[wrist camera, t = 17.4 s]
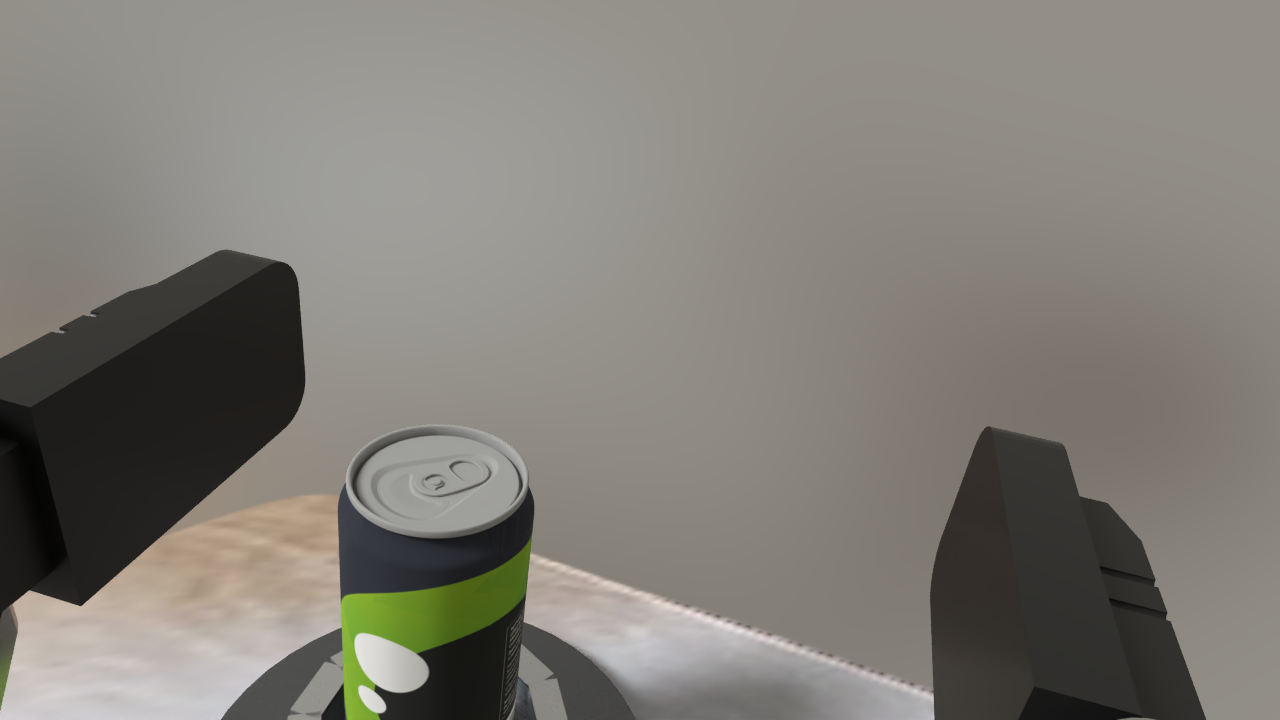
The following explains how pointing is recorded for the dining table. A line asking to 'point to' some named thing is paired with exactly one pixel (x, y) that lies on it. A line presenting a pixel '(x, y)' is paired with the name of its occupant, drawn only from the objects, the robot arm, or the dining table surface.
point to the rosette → (545, 698)
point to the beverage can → (434, 575)
